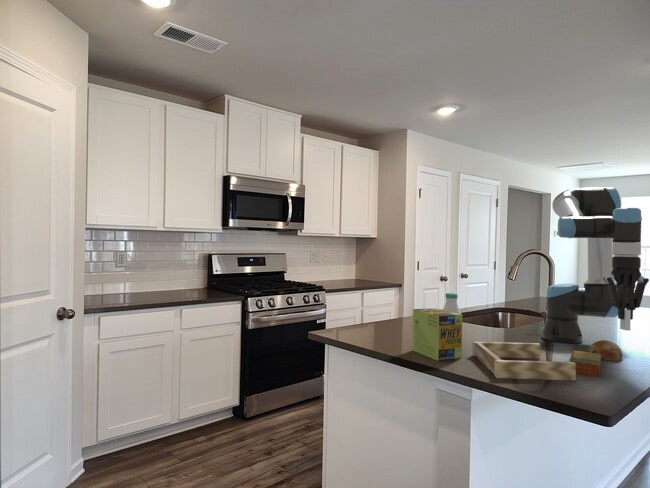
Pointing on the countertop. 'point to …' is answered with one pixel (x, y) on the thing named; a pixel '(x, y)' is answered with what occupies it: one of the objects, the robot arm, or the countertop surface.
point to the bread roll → (606, 350)
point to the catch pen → (521, 369)
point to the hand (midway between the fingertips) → (625, 329)
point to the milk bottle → (451, 303)
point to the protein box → (437, 333)
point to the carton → (586, 363)
